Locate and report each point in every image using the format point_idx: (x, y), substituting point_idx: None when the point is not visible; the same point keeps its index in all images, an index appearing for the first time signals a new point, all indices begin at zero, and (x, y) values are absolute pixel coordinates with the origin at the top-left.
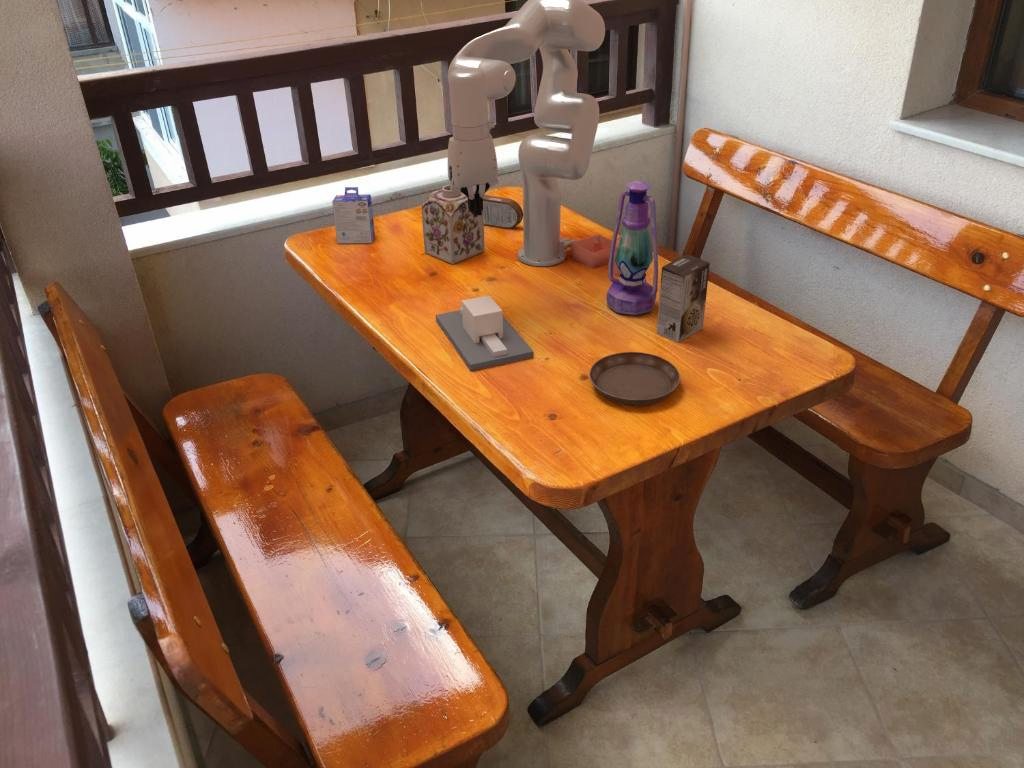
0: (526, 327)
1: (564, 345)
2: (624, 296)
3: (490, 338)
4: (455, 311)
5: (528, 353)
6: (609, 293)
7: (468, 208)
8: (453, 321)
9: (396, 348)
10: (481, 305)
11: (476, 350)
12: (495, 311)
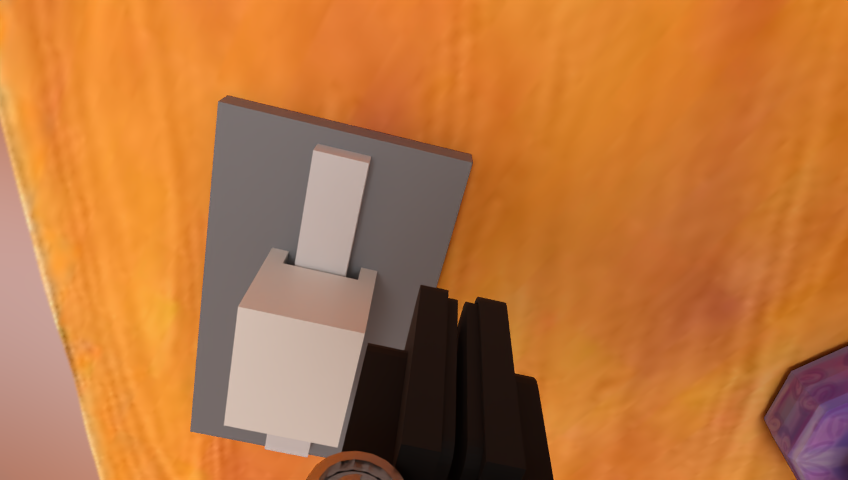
0: None
1: None
2: (812, 472)
3: None
4: (304, 127)
5: None
6: (811, 417)
7: (365, 356)
8: (259, 193)
9: (22, 191)
10: (289, 381)
11: None
12: (312, 438)
